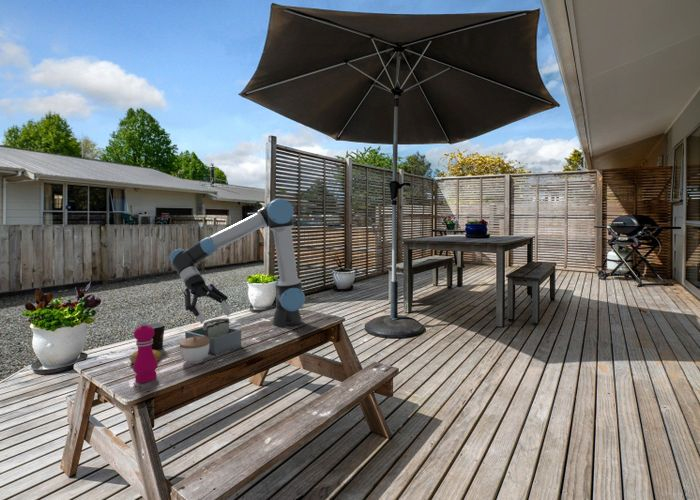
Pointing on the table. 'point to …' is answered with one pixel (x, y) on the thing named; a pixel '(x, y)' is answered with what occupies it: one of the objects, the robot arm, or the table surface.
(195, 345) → the lidded jar
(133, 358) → the bagel
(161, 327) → the coffee mug
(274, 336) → the table surface
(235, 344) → the charcoal bin
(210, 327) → the food container
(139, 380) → the pepper mill
